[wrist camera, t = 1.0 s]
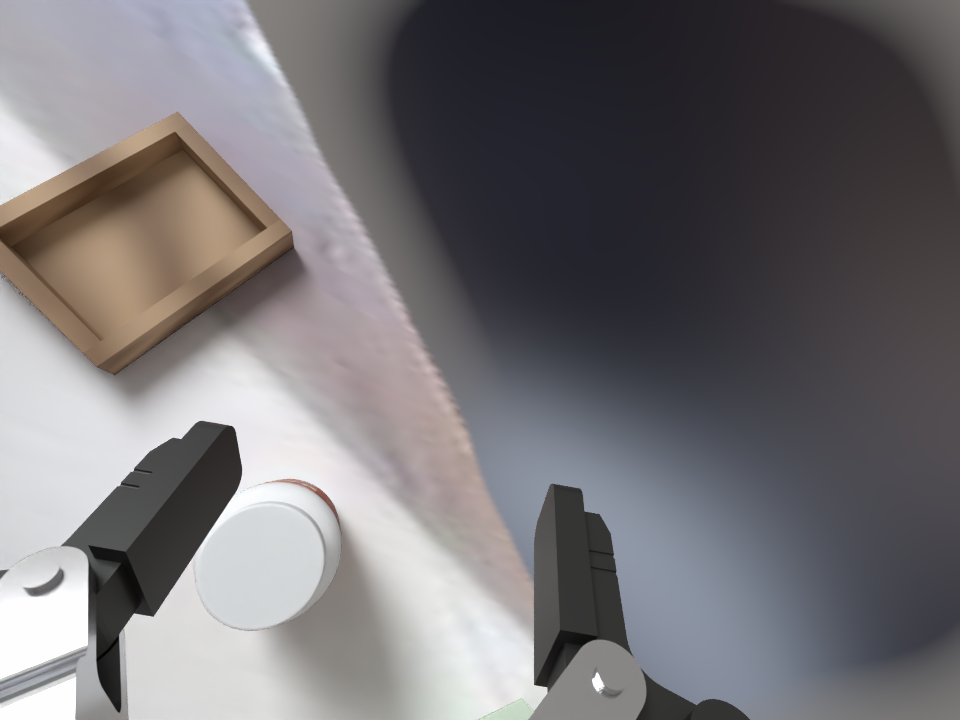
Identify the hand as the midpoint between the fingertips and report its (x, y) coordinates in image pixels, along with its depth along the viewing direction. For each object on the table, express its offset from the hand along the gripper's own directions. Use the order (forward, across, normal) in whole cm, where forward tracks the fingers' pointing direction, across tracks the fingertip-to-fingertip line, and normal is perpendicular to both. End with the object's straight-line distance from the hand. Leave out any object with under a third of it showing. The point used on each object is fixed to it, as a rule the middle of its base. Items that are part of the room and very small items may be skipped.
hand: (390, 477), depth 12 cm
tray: (+19, +20, +4) cm, 27 cm away
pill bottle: (+9, +8, +17) cm, 21 cm away
